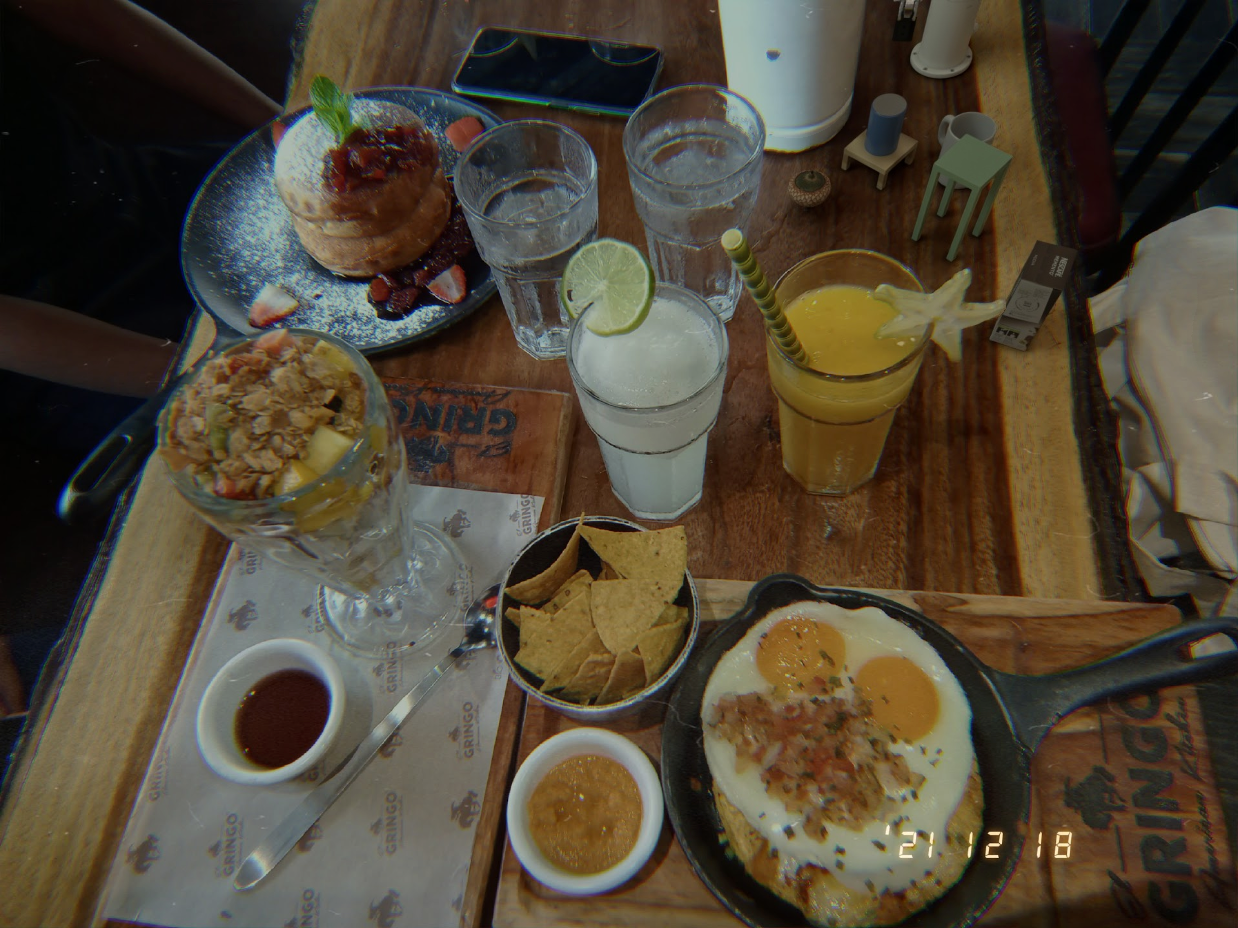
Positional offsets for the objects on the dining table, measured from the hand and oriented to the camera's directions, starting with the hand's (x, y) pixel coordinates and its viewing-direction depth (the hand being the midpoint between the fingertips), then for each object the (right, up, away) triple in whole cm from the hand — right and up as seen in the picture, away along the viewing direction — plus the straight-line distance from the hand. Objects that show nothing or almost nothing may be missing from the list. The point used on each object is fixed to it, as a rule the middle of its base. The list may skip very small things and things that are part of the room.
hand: (905, 21), depth 124 cm
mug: (+18, -16, +22) cm, 33 cm away
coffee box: (+21, -51, +4) cm, 56 cm away
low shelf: (+4, -14, +25) cm, 29 cm away
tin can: (+3, -12, +21) cm, 24 cm away
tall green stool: (+14, -32, +15) cm, 38 cm away
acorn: (-11, -24, +23) cm, 35 cm away
